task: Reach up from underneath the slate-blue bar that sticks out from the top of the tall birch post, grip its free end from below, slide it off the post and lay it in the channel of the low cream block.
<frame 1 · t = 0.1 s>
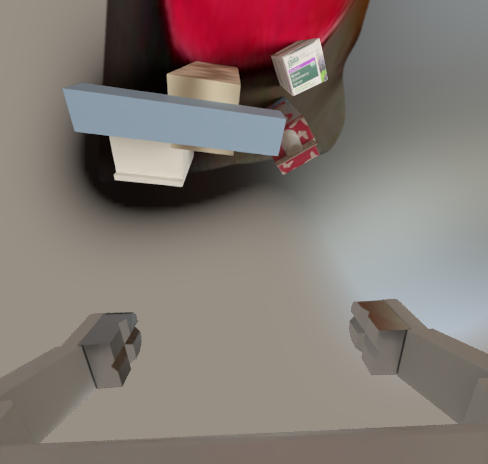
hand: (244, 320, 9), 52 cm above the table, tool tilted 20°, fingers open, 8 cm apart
juice carton: (276, 119, 53), on the table
cream block: (166, 132, 54), on the table
syrup box: (288, 63, 47), on the table
bar: (186, 116, 28), point 26 cm above the table, touching post
post: (216, 87, 49), on the table
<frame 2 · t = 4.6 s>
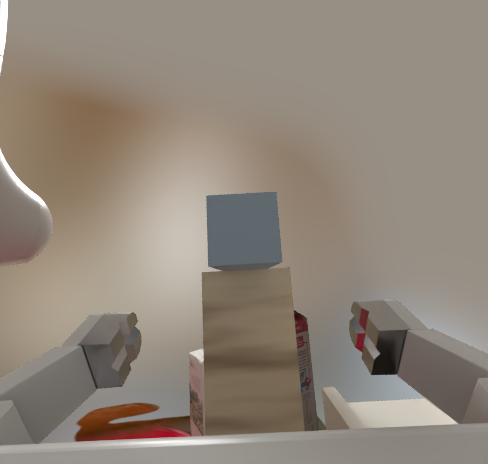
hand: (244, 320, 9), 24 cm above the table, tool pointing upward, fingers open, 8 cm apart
juice carton: (287, 458, 34), on the table
syrup box: (215, 462, 34), on the table
bar: (245, 270, 24), point 26 cm above the table, touching post
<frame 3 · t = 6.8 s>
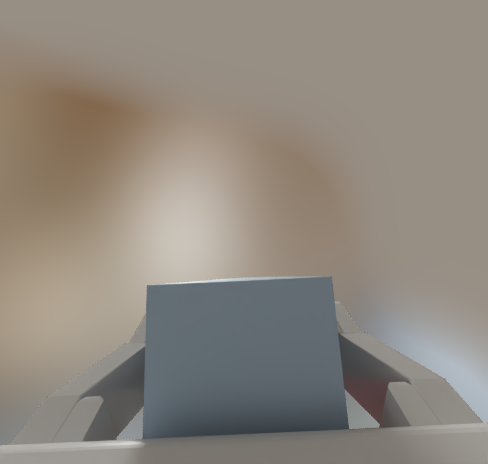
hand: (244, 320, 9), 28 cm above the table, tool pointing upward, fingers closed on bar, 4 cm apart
bar: (247, 342, 15), point 26 cm above the table, touching gripper, post
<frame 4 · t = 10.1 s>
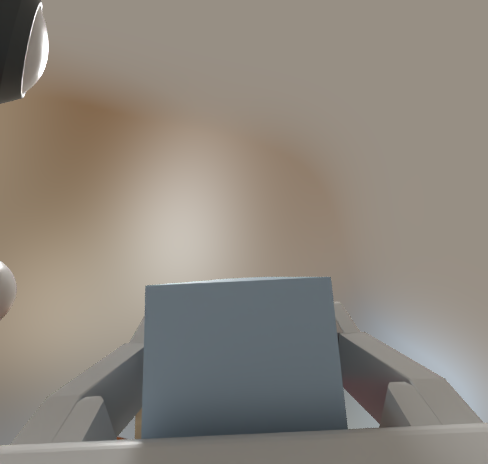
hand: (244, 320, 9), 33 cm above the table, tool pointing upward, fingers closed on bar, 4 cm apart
bar: (247, 342, 15), point 30 cm above the table, touching gripper
when the fingers open (19 cm above the table, at t = 13.4 s): bar drops 1 cm, resting on cream block.
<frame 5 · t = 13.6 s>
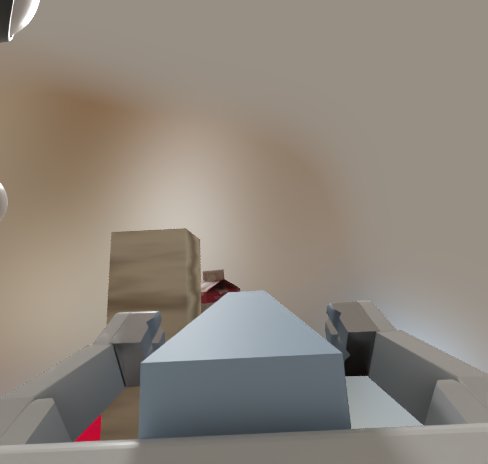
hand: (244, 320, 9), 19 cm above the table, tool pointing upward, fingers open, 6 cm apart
juice carton: (216, 411, 38), on the table
bar: (248, 368, 15), point 15 cm above the table, touching cream block
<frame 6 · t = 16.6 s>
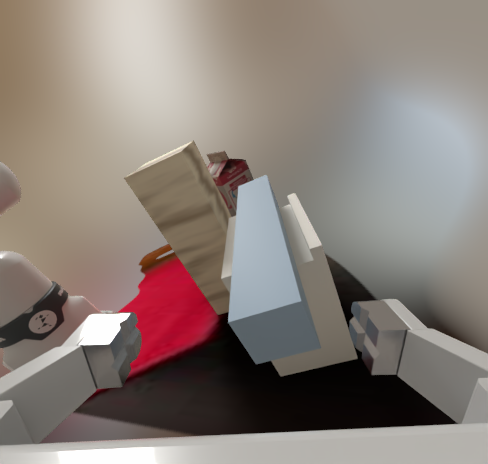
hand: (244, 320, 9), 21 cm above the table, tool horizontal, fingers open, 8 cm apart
juice carton: (258, 244, 55), on the table
cream block: (306, 324, 33), on the table
bar: (270, 251, 24), point 15 cm above the table, touching cream block
post: (239, 291, 44), on the table
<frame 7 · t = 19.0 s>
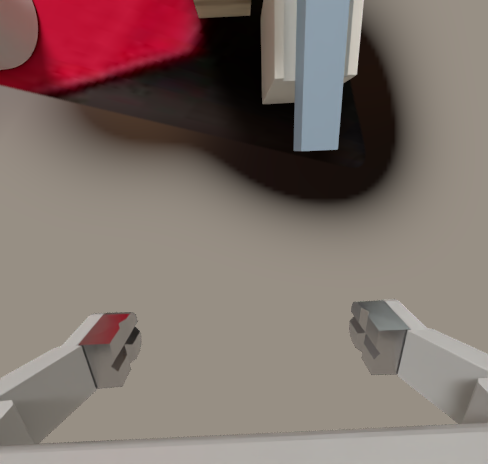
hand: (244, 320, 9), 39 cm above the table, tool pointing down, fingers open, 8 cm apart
cream block: (288, 62, 40), on the table
bar: (314, 44, 26), point 15 cm above the table, touching cream block
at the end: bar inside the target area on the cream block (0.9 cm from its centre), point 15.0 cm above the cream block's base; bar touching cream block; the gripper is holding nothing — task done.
